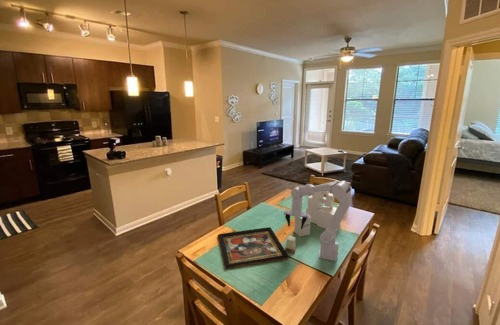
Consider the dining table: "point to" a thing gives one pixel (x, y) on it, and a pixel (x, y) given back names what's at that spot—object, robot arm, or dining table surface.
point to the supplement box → (306, 226)
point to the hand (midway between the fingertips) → (295, 227)
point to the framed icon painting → (250, 247)
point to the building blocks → (321, 208)
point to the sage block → (291, 242)
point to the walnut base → (290, 250)
